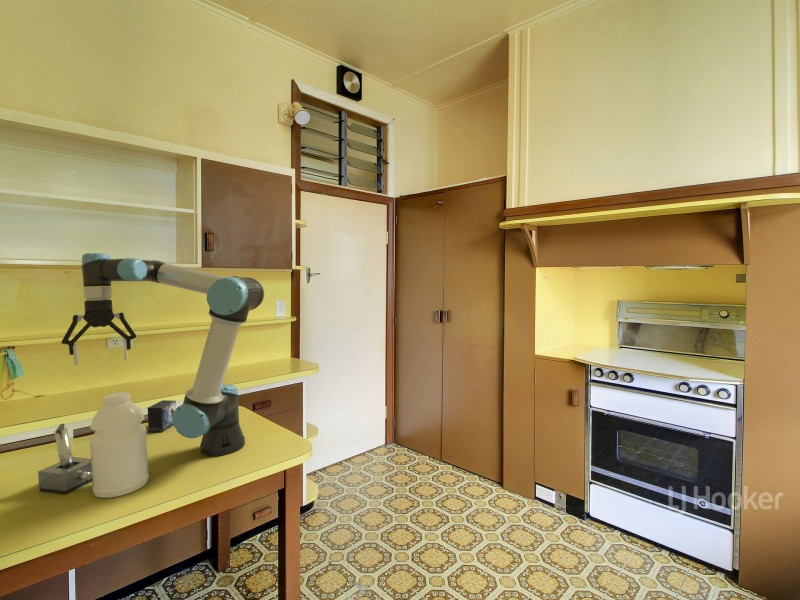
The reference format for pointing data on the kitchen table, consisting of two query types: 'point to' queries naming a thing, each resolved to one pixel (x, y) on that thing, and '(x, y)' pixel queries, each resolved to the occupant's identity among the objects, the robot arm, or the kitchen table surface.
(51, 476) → the block
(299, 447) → the kitchen table surface
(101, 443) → the bottle
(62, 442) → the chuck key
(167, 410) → the small box
